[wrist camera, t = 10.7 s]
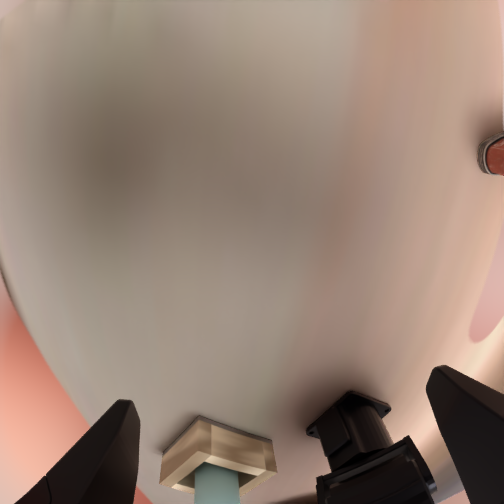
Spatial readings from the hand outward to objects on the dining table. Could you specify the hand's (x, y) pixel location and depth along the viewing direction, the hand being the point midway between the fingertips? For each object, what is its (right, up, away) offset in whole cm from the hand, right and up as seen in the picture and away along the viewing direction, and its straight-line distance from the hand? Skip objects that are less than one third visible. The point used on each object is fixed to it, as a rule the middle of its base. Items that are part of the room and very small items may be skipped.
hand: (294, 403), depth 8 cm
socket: (-5, -15, +19) cm, 25 cm away
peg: (-5, -16, +19) cm, 25 cm away
